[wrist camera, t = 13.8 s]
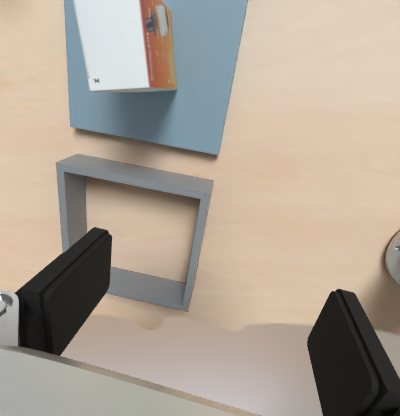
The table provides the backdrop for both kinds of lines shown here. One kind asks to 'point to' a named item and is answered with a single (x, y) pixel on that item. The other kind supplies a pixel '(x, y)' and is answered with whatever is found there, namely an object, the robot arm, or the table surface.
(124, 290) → the rectangular frame
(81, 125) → the board
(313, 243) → the table surface
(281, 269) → the table surface
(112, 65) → the small box
